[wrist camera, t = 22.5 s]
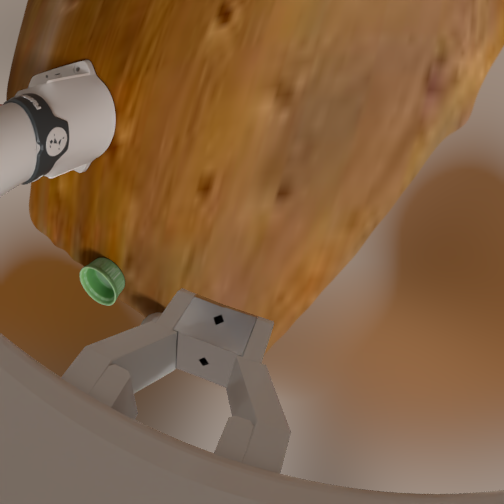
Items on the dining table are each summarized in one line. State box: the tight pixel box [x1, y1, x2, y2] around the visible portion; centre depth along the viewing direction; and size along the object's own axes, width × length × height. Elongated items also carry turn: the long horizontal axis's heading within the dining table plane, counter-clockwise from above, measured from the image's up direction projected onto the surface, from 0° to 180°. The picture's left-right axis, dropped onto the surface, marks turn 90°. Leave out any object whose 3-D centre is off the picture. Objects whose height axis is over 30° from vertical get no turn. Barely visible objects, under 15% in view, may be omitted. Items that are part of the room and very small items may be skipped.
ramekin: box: [80, 258, 125, 305], centre depth 57 cm, size 9×9×4 cm
